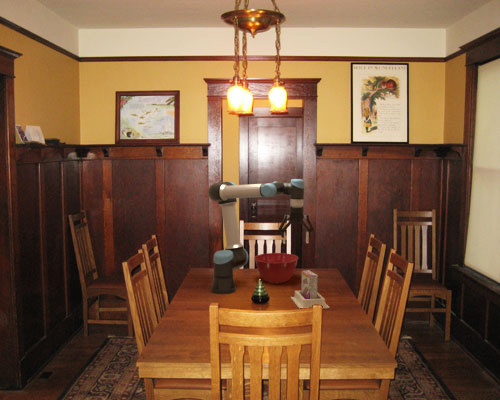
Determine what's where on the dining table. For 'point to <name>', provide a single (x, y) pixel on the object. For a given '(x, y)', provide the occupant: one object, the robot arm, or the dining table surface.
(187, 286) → the dining table surface
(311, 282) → the candy bar box
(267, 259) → the mixing bowl
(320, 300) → the beige shallow square tray
